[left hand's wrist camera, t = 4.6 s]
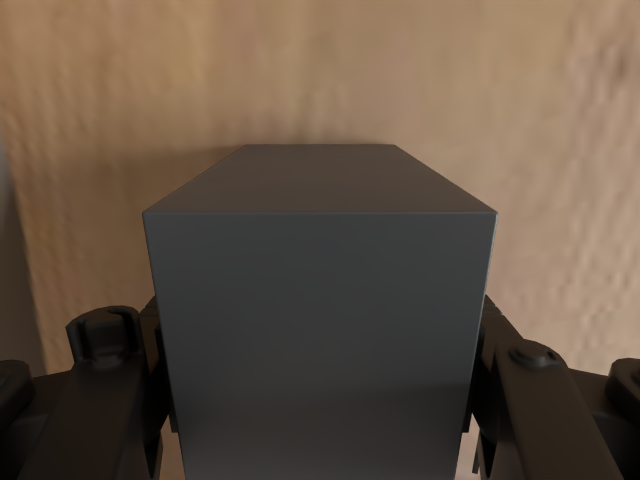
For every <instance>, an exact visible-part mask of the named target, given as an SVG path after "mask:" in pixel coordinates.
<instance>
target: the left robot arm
mask: <svg viewBox="0 0 640 480" xmlns="http://www.w3.org/2000/svg"><path fill="white" fill-rule="evenodd" d="M65 328H66V332H67V335H68V339H69V343H70V347H71V350H72V354H73V358H74V362H75V363H74V365H73V367H72V369H71V370H69V371H65V372H60V373H55V374H50V375H45V376H40V377H35V378H33V377H32V374H31V371H30V367H29V365H28V364H26V363H25V362H24V361H19V360H5V361H0V480H159V476H160V469H161V461H162V453H163V442H162V436H161V431H160V430H161V428H162V426H163V424H164V422H165V420H166V418H167V416H168V414H169V419H170V425H171V431H172V433H178V430H177V424H176V417H175V411H174V405H173V399H172V393H171V387H170V381H169V375H168V369H167V363H166V357H165V351H164V345H163V339H162V333H161V327H160V321H159V314H158V308H157V302H156V296H154V297H153V298H152V299H151V300H150V301H149V303H148V304H147V305H146V306H145V308H144V309H143V310H142V311H141V312H140V313H139V312H138V311H137V310H135V309H134V308H133V307H128V306H108V307H103V308H98V309H95V310H92V311H89V312H87V313H84V314H82V315H80V316H78V317H77V318H75V319H73V320H72V321H71V322H70V323H69V324H68V325H67V326H66V327H65ZM472 413H473V415H474V417H475V419H476V421H477V424H478V426H479V428H480V431H479V436H478V442H477V447H476V452H475V458H474V463H473V470H472V473H475V474H478V468H480V476H481V480H640V359H634V358H624V359H618V360H616V361H615V362H614V363H612V365H611V369H610V372H609V375H608V376H604V375H599V374H594V373H589V372H584V371H579V370H574V369H570V368H568V366H567V364H566V362H565V361H564V360H563V359H562V357H561V356H560V355H559V354H558V353H556V352H555V351H554V350H552V349H551V348H549V347H547V346H545V345H542V344H540V343H538V342H535V341H531V340H527V339H523V338H522V336H521V335H520V334H519V333H518V332H517V330H516V329H515V328H514V327H513V326H512V324H511V323H510V322H509V321H508V320H507V318H506V317H505V316H504V315H502V312H501V311H500V310H499V309H498V308H497V307H495V304H494V303H493V302H492V301H491V299H490V298H489V297H488V296H487V295H486V294H485V298H484V304H483V310H482V316H481V322H480V328H479V334H478V340H477V346H476V352H475V358H474V364H473V370H472V376H471V382H470V388H469V395H468V401H467V407H466V413H465V419H464V425H463V431H462V433H469V427H470V421H471V415H472Z"/></svg>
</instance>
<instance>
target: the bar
mask: <svg viewBox="0 0 640 480" xmlns="http://www.w3.org/2000/svg"><path fill="white" fill-rule="evenodd" d="M142 218H143V224H144V230H145V236H146V242H147V248H148V254H149V260H150V266H151V272H152V278H153V284H154V290H155V296H156V302H157V308H158V314H159V321H160V327H161V333H162V339H163V345H164V351H165V357H166V363H167V369H168V375H169V381H170V387H171V393H172V399H173V405H174V411H175V417H176V424H177V430H178V436H179V442H180V448H181V454H182V460H183V466H184V472H185V478H186V480H454V479H455V473H456V467H457V461H458V455H459V449H460V443H461V437H462V431H463V425H464V419H465V413H466V407H467V401H468V395H469V388H470V382H471V376H472V370H473V364H474V358H475V352H476V346H477V340H478V334H479V328H480V322H481V316H482V310H483V304H484V298H485V292H486V286H487V280H488V274H489V268H490V262H491V256H492V249H493V243H494V237H495V231H496V225H497V219H498V212H497V211H495V210H494V209H492V208H491V207H489V206H488V205H486V204H485V203H483V202H482V201H480V200H478V199H477V198H475V197H474V196H472V195H471V194H469V193H468V192H466V191H465V190H463V189H462V188H460V187H459V186H457V185H455V184H454V183H452V182H451V181H449V180H448V179H446V178H445V177H443V176H442V175H440V174H439V173H437V172H436V171H434V170H433V169H431V168H429V167H428V166H426V165H425V164H423V163H422V162H420V161H419V160H417V159H416V158H414V157H413V156H411V155H410V154H408V153H406V152H405V151H403V150H402V149H400V148H399V147H397V146H396V145H245V146H243V147H242V148H240V149H239V150H237V151H235V152H234V153H232V154H231V155H229V156H228V157H226V158H225V159H223V160H222V161H220V162H219V163H217V164H215V165H214V166H212V167H211V168H209V169H208V170H206V171H205V172H203V173H202V174H200V175H199V176H197V177H196V178H194V179H192V180H191V181H189V182H188V183H186V184H185V185H183V186H182V187H180V188H179V189H177V190H176V191H174V192H172V193H171V194H169V195H168V196H166V197H165V198H163V199H162V200H160V201H159V202H157V203H156V204H154V205H153V206H151V207H149V208H148V209H146V210H145V211H143V213H142Z"/></svg>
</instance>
